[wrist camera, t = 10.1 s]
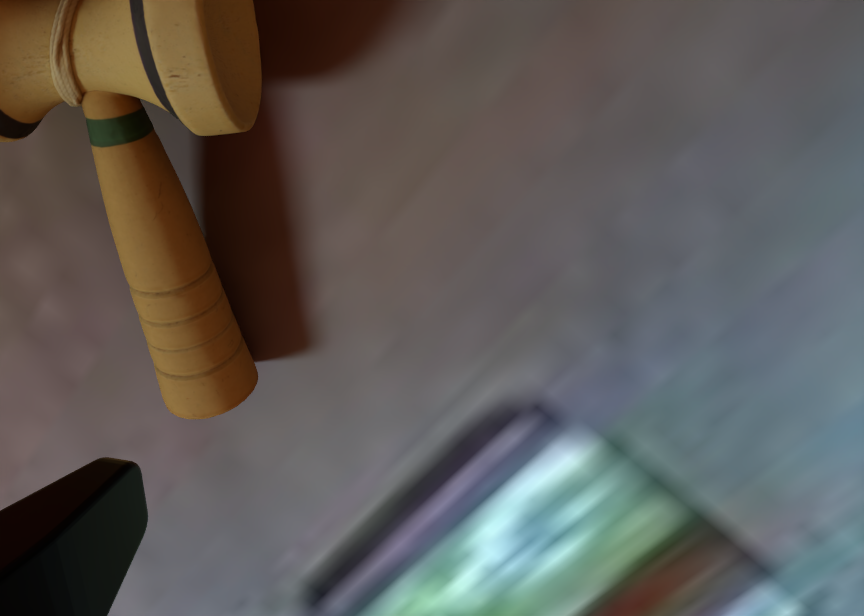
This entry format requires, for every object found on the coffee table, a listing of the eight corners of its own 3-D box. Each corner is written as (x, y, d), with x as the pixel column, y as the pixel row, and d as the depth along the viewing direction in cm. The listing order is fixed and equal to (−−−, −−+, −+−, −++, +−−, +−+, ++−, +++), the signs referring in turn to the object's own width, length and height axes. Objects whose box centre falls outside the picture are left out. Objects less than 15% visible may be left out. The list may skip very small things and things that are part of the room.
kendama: (371, 336, 24) (227, -398, 14) (284, 476, 19) (-41, -492, 9) (181, 313, 26) (-63, -324, 16) (62, 433, 22) (-397, -368, 11)
